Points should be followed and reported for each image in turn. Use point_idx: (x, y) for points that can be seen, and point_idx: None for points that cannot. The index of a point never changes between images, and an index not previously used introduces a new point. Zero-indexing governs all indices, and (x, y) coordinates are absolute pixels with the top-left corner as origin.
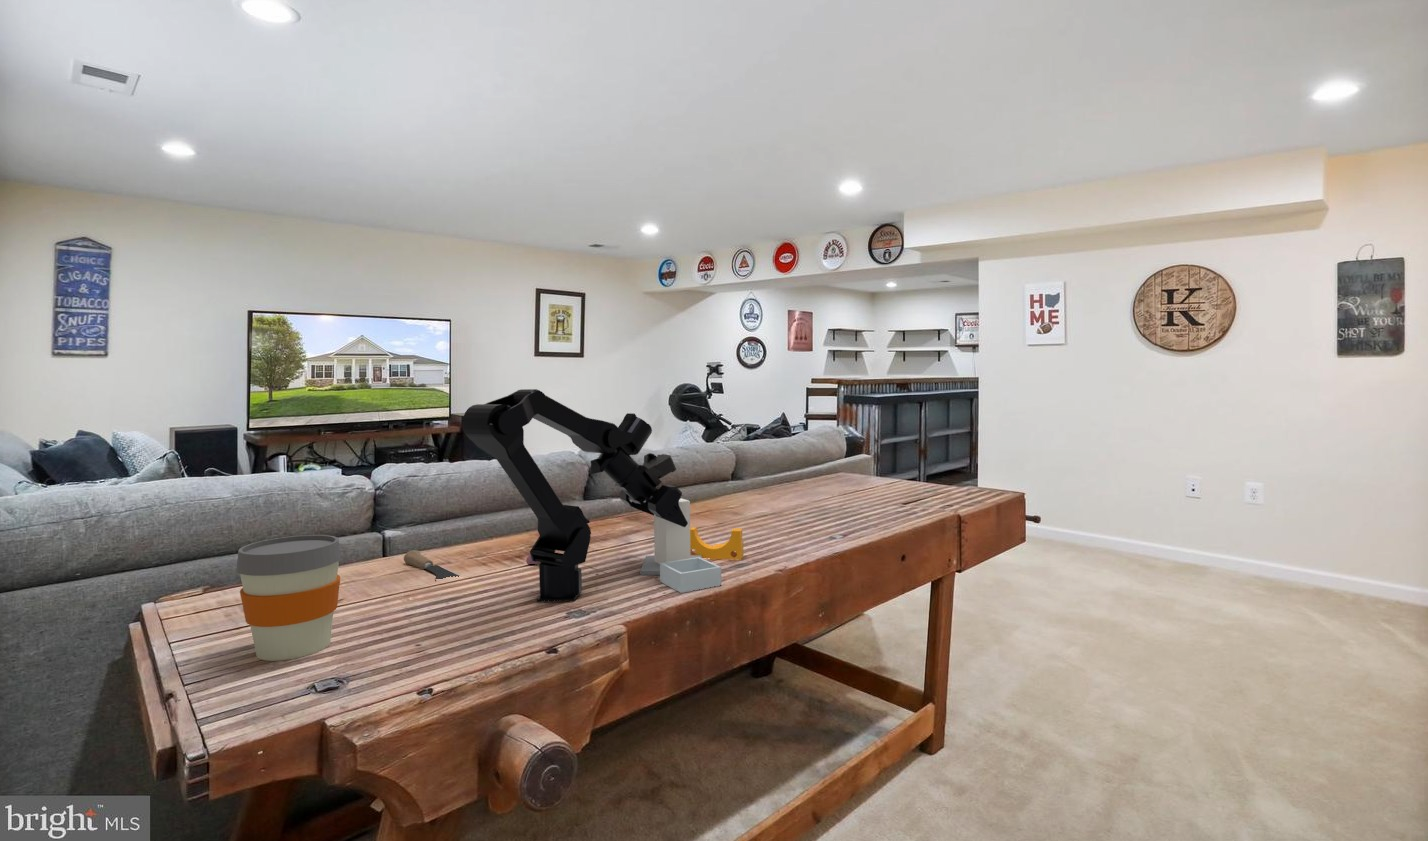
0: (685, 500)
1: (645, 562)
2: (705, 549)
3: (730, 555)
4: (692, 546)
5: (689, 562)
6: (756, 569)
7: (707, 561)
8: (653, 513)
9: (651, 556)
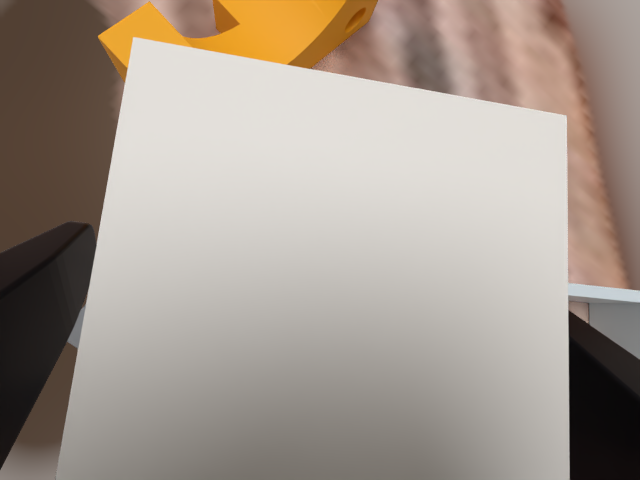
0: (506, 144)
1: None
2: None
3: (343, 32)
4: None
5: None
6: (502, 67)
7: (570, 288)
8: (25, 397)
9: None
